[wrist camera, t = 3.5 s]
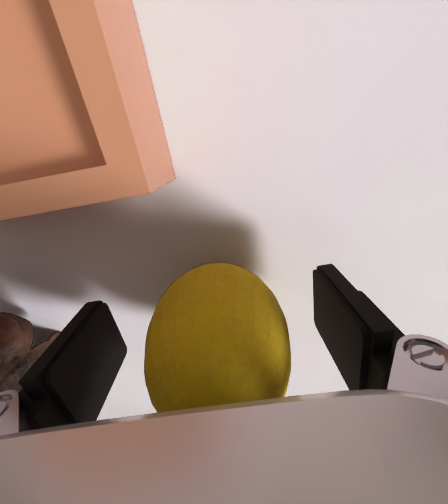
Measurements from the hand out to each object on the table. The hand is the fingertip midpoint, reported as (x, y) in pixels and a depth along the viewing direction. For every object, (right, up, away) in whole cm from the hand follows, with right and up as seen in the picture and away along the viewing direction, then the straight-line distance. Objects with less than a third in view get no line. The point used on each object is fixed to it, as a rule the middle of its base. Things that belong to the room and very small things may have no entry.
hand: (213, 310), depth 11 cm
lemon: (0, +1, +3) cm, 3 cm away
